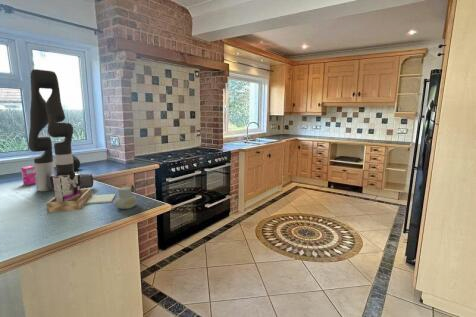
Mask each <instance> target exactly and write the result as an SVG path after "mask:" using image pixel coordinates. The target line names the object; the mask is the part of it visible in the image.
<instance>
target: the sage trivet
mask: <svg viewBox="0 0 476 317" xmlns="http://www.w3.org/2000/svg"><path fill="white" fill-rule="evenodd" d="M115 195H116V193H109V194H95V195H93V194H92V196H91V197H90V199H89V200H88V201H87V202H86V205H91V204H92V205H93V204H103V203H104V204H107V203H112V202H113V200H115V197H116V196H115Z"/></svg>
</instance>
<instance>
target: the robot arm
mask: <svg viewBox="0 0 476 317" xmlns="http://www.w3.org/2000/svg"><path fill="white" fill-rule="evenodd" d="M40 89H46V90H50V89H51V93H50V96H49V97H48V98H47V101H46V100H45V99H44V97H43V96H42V94H41V92H40ZM30 91H31V92H30V93H31V94H30V99H31V100H30V110H29V111H30V112H29V114H30V115H29V117H30V118H29V119H30V120H29V121H30V124H29V132H28V133H29V135H28V142H27V143H28V148H29V150H30V151H31V152H34V153H37V152H43V153H42V154H41V155H39V156H37V157H36V156H35V157H34V159H33V161H34V167H35V172H36V175H35V183H36V184H35V188H36V189H35V190H36V192H49V191H51V190H48V188H47V178H48V177H50V181H51V185H52V187H54V183H53V177H55V176H58V175H70V177H69V176H68V178H69V182H70V183H71V184H72V185H73V186H74V194H77V193H78V186H80V185H81V184H82V174H83V173H78V174H75V172H76V171H75V170H74V164H73V157H72V155H73V153H72V140H73V134H74V127H73V125H72V123H70V122H64V120H65V119H66V115H65V113H64V111H65V110H64V108H63V105H62V101H61V92H60V85H59V79H58V76H57V74H56V72H54V71H51V70H46V69H37V68H36V69H32V70H31V72H30ZM46 126H47V134H48V135H40V133H41V131H42V130H44V128H45V127H46ZM51 137H52V138H63V140H61V141H57V142H55V143H54V144H52V143H53V142H52V139H51ZM53 148H54V156H53ZM54 162H55V163H54ZM54 164H55V166H54ZM55 169H56V171H55ZM55 172H56V174H55ZM75 176H76V178H78V184H77V183H76V181H75V180H74V181H72V180H73V179H74V177H75Z"/></svg>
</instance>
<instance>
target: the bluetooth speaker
mask: <svg viewBox="0 0 476 317" xmlns="http://www.w3.org/2000/svg"><path fill="white" fill-rule="evenodd" d="M81 174H82V184H81V185H80V189H89V188H91V189H92V188H93V186H94V176H93V174H92V173H81ZM47 188H48V190H50V191H55V190H54V187H52V185H51V181H50V177H48V178H47Z"/></svg>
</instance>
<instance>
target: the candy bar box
mask: <svg viewBox="0 0 476 317" xmlns="http://www.w3.org/2000/svg"><path fill="white" fill-rule="evenodd" d="M74 172H75V174H79V172H78V171H74ZM68 176H69V177H70V175H58V176H55V177H53V183H54V190H53V191H54V195H55V196H54V197H56V202H64V201H77V200H78V199H79V198H80V197H81V194H80V186H78V193H77V194H74V186H73V185H72V184H71V183H70V182H69V178H68ZM74 180H75V181H76V183H77V184H78V178H76V176H75V177H74V179H73V180H72V181H74Z"/></svg>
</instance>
